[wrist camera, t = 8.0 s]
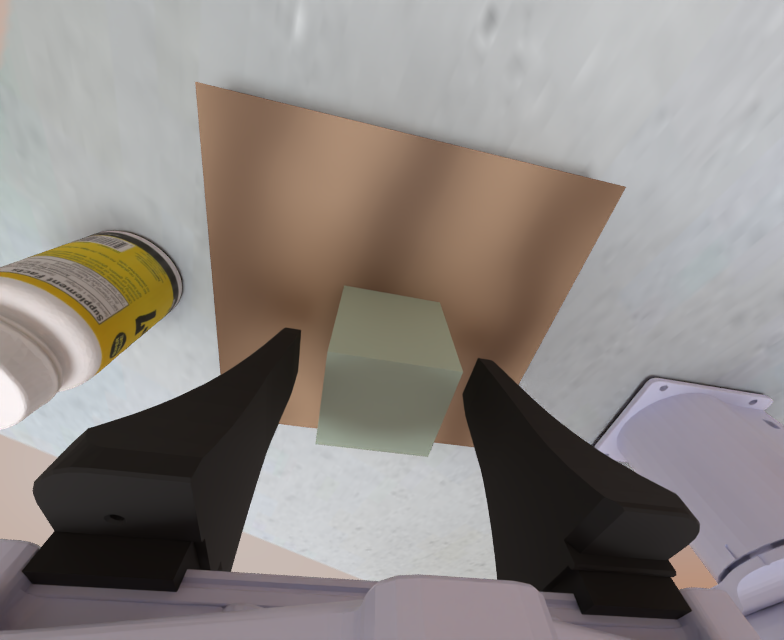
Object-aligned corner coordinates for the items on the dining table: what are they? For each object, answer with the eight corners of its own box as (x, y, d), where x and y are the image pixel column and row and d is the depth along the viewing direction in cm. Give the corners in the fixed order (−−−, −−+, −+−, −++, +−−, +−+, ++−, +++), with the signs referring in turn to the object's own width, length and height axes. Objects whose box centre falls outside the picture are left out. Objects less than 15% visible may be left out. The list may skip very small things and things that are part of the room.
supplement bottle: (147, 328, 18) (-10, 458, 11) (65, 262, 16) (-199, 370, 9) (205, 285, 17) (70, 401, 10) (123, 208, 15) (-127, 282, 8)
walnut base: (590, 178, 15) (626, 186, 12) (474, 418, 22) (483, 448, 20) (227, 90, 13) (195, 81, 10) (240, 387, 20) (224, 417, 18)
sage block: (439, 302, 15) (463, 372, 10) (416, 374, 17) (427, 456, 13) (344, 285, 14) (327, 351, 10) (333, 362, 16) (315, 444, 12)
